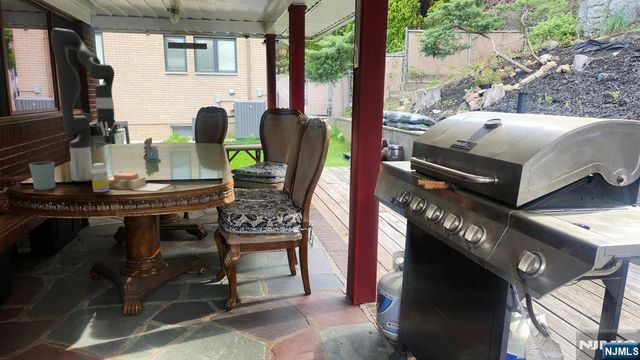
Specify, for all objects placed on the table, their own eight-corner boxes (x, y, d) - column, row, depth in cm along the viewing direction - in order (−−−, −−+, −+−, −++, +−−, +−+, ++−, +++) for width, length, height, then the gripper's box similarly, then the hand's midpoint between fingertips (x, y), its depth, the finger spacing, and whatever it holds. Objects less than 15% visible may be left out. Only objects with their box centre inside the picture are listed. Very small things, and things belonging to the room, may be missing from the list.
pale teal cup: (38, 191, 196) (35, 165, 193) (28, 188, 201) (24, 163, 199) (61, 187, 204) (58, 162, 202) (50, 184, 210) (47, 160, 207)
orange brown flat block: (114, 179, 205) (113, 175, 204) (121, 176, 210) (121, 172, 210) (130, 180, 203) (130, 175, 203) (138, 177, 209) (137, 173, 209)
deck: (96, 187, 205) (95, 179, 204) (109, 182, 215) (108, 175, 214) (133, 189, 202) (133, 181, 201) (145, 184, 211) (145, 177, 211)
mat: (132, 190, 200) (132, 189, 200) (148, 184, 213) (148, 183, 213) (155, 191, 198) (155, 190, 198) (170, 185, 211) (170, 184, 211)
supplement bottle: (96, 189, 201) (94, 162, 198) (111, 189, 202) (108, 162, 199) (90, 192, 195) (87, 165, 192) (105, 192, 195) (102, 165, 192)
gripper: (87, 107, 198) (90, 143, 202) (112, 107, 196) (115, 144, 200) (97, 106, 206) (101, 142, 209) (122, 107, 204) (125, 143, 207)
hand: (108, 143), depth 205 cm, fingers closed
